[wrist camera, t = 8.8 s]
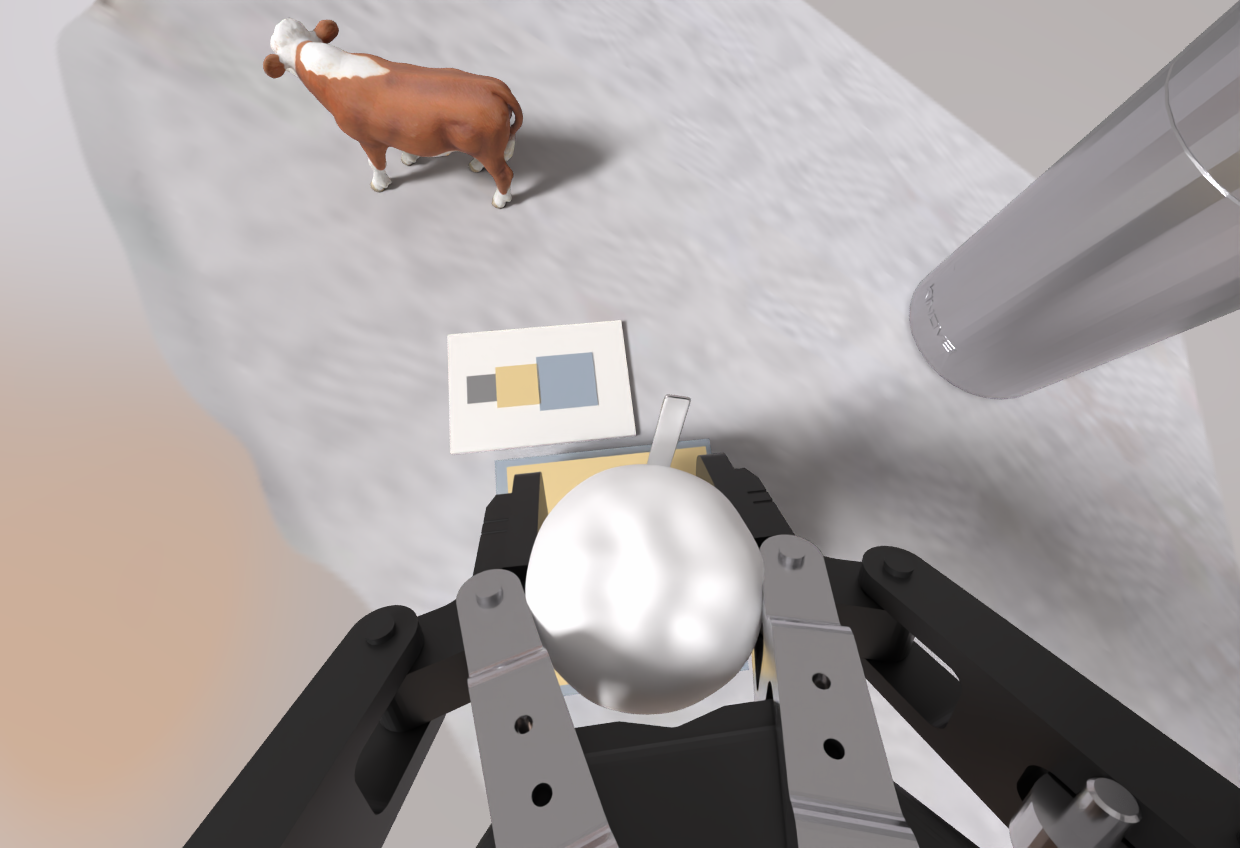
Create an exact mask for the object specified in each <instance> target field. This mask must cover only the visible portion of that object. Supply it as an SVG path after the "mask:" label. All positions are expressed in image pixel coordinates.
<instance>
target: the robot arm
mask: <svg viewBox="0 0 1240 848" xmlns="http://www.w3.org/2000/svg"><path fill="white" fill-rule="evenodd" d="M1239 309H1240V0H1239V1H1238V2H1237V3H1236V4H1235V5H1234V6H1232V7H1231V8H1230V9H1229V10H1228V11H1227V12H1225V13H1224V14H1223V15H1222V16H1221V17H1220V18H1219V19H1218V20H1217V21H1215V22H1214V23H1213V24H1212V25H1211V26H1210V27H1208V28H1207V29H1206V30H1205V31H1204V32H1203V33H1202V34H1201V35H1199V36H1198V37H1197V38H1196V39H1195V40H1194V41H1193V42H1191V43H1190V44H1189V45H1188V46H1187V47H1186V48H1185V49H1184V50H1183V51H1182V52H1181V53H1180V54H1178V55H1177V56H1176V57H1175V58H1174V59H1173V60H1172V61H1170V62H1169V63H1168V64H1167V65H1166V66H1165V67H1164V68H1162V69H1161V70H1160V71H1159V72H1158V73H1157V74H1156V75H1155V76H1153V77H1152V78H1151V79H1150V80H1149V81H1148V82H1147V83H1145V84H1144V85H1143V86H1142V87H1141V88H1140V89H1139V90H1137V91H1136V92H1135V93H1134V94H1133V95H1132V96H1131V97H1130V98H1128V99H1127V100H1126V101H1125V102H1124V103H1123V104H1122V105H1120V106H1119V107H1118V108H1117V109H1116V110H1115V111H1114V112H1112V113H1111V114H1110V115H1109V116H1108V117H1107V118H1106V119H1105V120H1103V121H1102V122H1101V123H1100V124H1099V125H1098V126H1097V127H1095V128H1094V129H1093V130H1092V131H1091V132H1090V133H1089V134H1088V135H1086V137H1084V138H1083V139H1082V140H1081V141H1080V142H1078V143H1077V144H1076V145H1075V146H1074V147H1073V148H1072V149H1071V150H1069V151H1068V152H1067V153H1066V154H1065V155H1064V156H1063V157H1061V158H1060V159H1059V160H1058V161H1057V162H1056V163H1055V164H1053V165H1052V166H1051V167H1050V168H1049V169H1048V170H1047V171H1045V173H1043V174H1042V175H1041V176H1040V177H1039V178H1037V179H1036V180H1035V181H1034V182H1033V183H1032V184H1031V185H1030V186H1028V187H1027V188H1026V189H1025V190H1024V191H1023V192H1022V193H1020V194H1019V195H1018V196H1017V197H1016V198H1015V199H1014V200H1012V201H1011V202H1010V203H1009V204H1008V205H1007V206H1006V207H1005V208H1003V209H1002V210H1001V211H1000V212H999V213H998V214H997V215H995V216H994V217H993V218H992V219H991V220H990V221H989V222H987V223H986V224H985V225H984V226H983V227H982V228H981V229H980V230H978V231H977V232H976V233H975V234H974V235H973V236H971V237H970V238H969V239H968V240H967V241H966V242H964V243H963V244H962V245H961V246H960V247H959V248H958V249H957V250H955V251H954V252H953V253H952V254H951V255H950V256H949V257H948V258H946V259H945V260H944V261H943V262H942V263H941V264H940V265H939V266H937V267H936V268H935V269H934V270H933V271H932V272H931V273H930V274H928V275H927V276H926V277H925V278H924V279H923V280H922V281H921V282H920V283H919V285H918V287H917V288H916V290H915V292H914V293H913V297H912V300H911V304H910V315H909V321H910V326H911V331H912V335H913V337H914V340H915V342H916V344H917V347H918V349H919V351H920V352H921V353H922V355H923V356H924V358H925V359H926V361H927V362H928V363H929V365H930V366H931V367H932V368H933V369H934V370H935V371H936V372H937V373H938V374H939V375H940V376H942V377H943V378H944V379H946V380H947V381H949V382H950V383H951V384H953V385H954V386H956V387H958V388H960V389H962V390H964V391H966V392H968V393H971V394H975V395H978V396H981V397H985V398H994V399H1008V398H1016V397H1020V396H1022V395H1025V394H1028V393H1031V392H1033V391H1036V390H1038V389H1041V388H1043V387H1046V386H1048V385H1051V384H1053V383H1056V382H1058V381H1061V380H1063V379H1066V378H1068V377H1071V376H1073V375H1076V374H1078V373H1081V372H1084V371H1087V370H1089V369H1092V368H1094V367H1097V366H1099V365H1102V364H1104V363H1107V362H1109V361H1112V360H1114V359H1117V358H1119V357H1122V356H1124V355H1127V354H1129V353H1132V352H1134V351H1137V350H1139V349H1142V348H1144V347H1147V346H1149V345H1152V344H1154V343H1157V342H1159V341H1162V340H1164V339H1167V338H1169V337H1172V336H1174V335H1177V334H1179V333H1182V332H1184V331H1187V330H1189V329H1192V328H1194V327H1197V326H1199V325H1202V324H1204V323H1206V322H1209V321H1212V320H1214V319H1216V318H1219V317H1221V316H1224V315H1227V314H1229V313H1231V312H1234V311H1236V310H1239ZM696 476H697V477H699V478H701V479H703V480H705V481H706V482H708V483H710V484H711V485H713V486H714V487H715V488H717V489H718V490H719V491H720V492H721V493H722V494H723V495H724V496H725V497H726V498H727V499H728V500H729V501H730V502H731V503H732V505H733V506H734V507H735V509H736V510H737V512H738V513H739V515H740V516H741V518H742V520H743V521H744V523H745V524H746V526H747V528H748V529H749V531H750V532H751V534H752V536H753V538H754V540H755V541H756V543H757V546H758V548H759V550H760V553H761V556H762V559H763V563H764V581H763V592H762V623H761V628H760V632H759V636H758V639H757V641H756V644H755V646H754V649H753V651H752V667H753V685H754V702H748V703H741V704H734V705H728V706H723V707H721V708H719V709H716V710H714V711H712V712H710V713H708V714H705V715H703V716H701V717H699V718H697V719H694V720H692V721H690V722H688V723H685V724H683V725H681V726H678V727H673V728H671V727H661V726H653V725H645V724H636V723H628V722H620V721H619V722H612V723H605V724H598V725H592V726H585V727H578V728H574V725H573V722H572V719H571V717H570V714H569V711H568V708H567V705H566V702H565V699H564V697H563V694H562V691H561V688H560V685H559V682H558V679H557V677H556V674H555V671H554V668H553V665H552V662H551V659H550V657H549V654H548V652H547V649H546V648H543V646H542V643H541V640H540V637H539V634H538V631H537V628H536V625H535V623H534V620H533V617H532V614H531V611H530V608H529V606H528V604H527V601H526V596H525V588H526V576H527V570H528V564H529V560H530V556H531V552H532V549H533V546H534V543H535V540H536V537H537V535H538V532H539V530H540V528H541V526H542V524H543V522H544V521H545V519H546V518H547V516H548V509H547V503H546V496H545V490H544V483H543V477H542V473H541V472H533V473H523V474H515V475H514V480H513V487H512V493H507V494H497V495H496V496H495V497H494V498H493V500H492V501H491V502H490V503H489V505H488V506H487V507H486V512H485V517H484V524H483V527H482V532H481V533H482V535H481V537H480V542H479V547H478V552H477V557H476V562H475V567H474V572H473V577H471V578H470V579H469V580H467V581H466V582H465V583H464V584H463V585H462V587H461V588H460V590H459V592H458V594H457V598H456V599H455V600H454V601H453V602H451V603H449V604H447V605H446V606H443V607H441V608H439V609H436V610H433V611H431V612H428V613H426V614H423V615H420V616H418V617H417V616H416V614H415V612H414V611H413V610H412V609H410V608H408V607H406V606H401V605H393V606H387V607H383V608H380V609H377V610H375V611H373V612H371V613H369V614H368V615H366V616H364V617H363V618H362V619H360V620H359V621H358V622H357V623H356V624H355V625H354V626H353V627H352V629H351V630H350V631H349V632H348V634H347V635H346V636H345V638H344V639H343V640H342V641H341V643H340V644H339V645H338V647H337V648H336V649H335V651H334V652H333V653H332V654H331V656H330V657H329V658H328V660H327V661H326V662H325V663H324V665H323V666H322V667H321V669H320V670H319V671H318V673H317V674H316V675H315V676H314V678H313V679H312V680H311V682H310V683H309V684H308V686H307V687H306V688H305V689H304V691H303V692H302V693H301V695H300V696H299V697H298V698H297V700H296V701H295V702H294V704H293V705H292V706H291V708H290V709H289V710H288V711H287V713H286V714H285V715H284V717H283V718H282V719H281V721H280V722H279V723H278V725H277V726H276V727H275V728H274V730H273V731H272V732H271V734H270V735H269V736H268V737H267V739H266V740H265V741H264V743H263V744H262V745H261V746H260V748H259V749H258V750H257V752H256V753H255V754H254V756H253V757H252V758H251V760H250V761H249V762H248V763H247V765H246V766H245V767H244V769H243V770H242V771H241V772H240V774H239V775H238V776H237V778H236V779H235V780H234V782H233V783H232V784H231V786H230V787H229V788H228V789H227V791H226V792H225V793H224V795H223V796H222V797H221V798H220V800H219V801H218V802H217V804H216V805H215V806H214V807H213V809H212V810H211V811H210V813H209V814H208V815H207V817H206V818H205V819H204V820H203V822H202V823H201V824H200V826H199V827H198V828H197V829H196V831H195V832H194V834H193V835H192V836H191V837H190V839H189V840H188V841H187V842H186V844H185V845H184V846H183V848H381V847H382V845H383V844H384V841H385V839H386V837H387V835H388V833H389V831H390V829H391V827H392V825H393V823H394V821H395V819H396V817H397V814H398V812H399V811H400V809H401V806H402V804H403V802H404V800H405V798H406V796H407V794H408V792H409V790H410V788H411V786H412V784H413V782H414V780H415V777H416V776H417V773H418V771H419V769H420V767H421V765H422V763H423V761H424V759H425V757H426V755H427V753H428V751H429V749H430V746H431V745H432V742H433V741H434V739H435V736H436V734H437V732H438V730H439V728H440V726H441V724H442V722H443V720H444V718H445V715H446V713H449V712H451V711H453V710H455V709H457V708H459V707H461V706H464V705H466V704H468V703H470V702H471V706H472V712H473V717H474V723H475V729H476V735H477V741H478V746H479V752H480V758H481V764H482V770H483V775H484V781H485V787H486V793H487V799H488V804H489V809H490V816H491V822H492V823H491V825H490V827H489V828H488V829H487V831H486V833H485V834H484V836H483V837H482V839H481V840H480V842H479V843H478V845H477V847H476V848H979V847H978V846H977V845H975V844H974V843H973V842H972V841H970V840H969V839H968V838H966V837H965V836H964V835H963V834H961V833H960V832H959V831H957V830H956V829H955V828H953V827H952V826H951V825H950V824H948V823H947V822H946V821H944V820H943V819H942V818H941V817H939V816H938V815H937V814H935V813H934V812H933V811H931V810H930V809H929V808H928V807H926V806H925V805H924V804H922V803H921V802H920V801H919V800H917V799H916V798H915V797H913V796H912V795H911V794H909V793H908V792H907V791H906V790H904V789H903V788H902V787H900V786H899V785H898V784H897V783H895V782H894V781H893V779H892V776H891V772H890V768H889V765H888V761H887V757H886V753H885V750H884V746H883V742H882V739H881V735H880V731H879V727H878V724H877V720H876V716H875V713H874V709H873V705H872V702H871V698H870V694H869V690H868V687H867V683H866V679H867V680H868V681H869V682H870V683H871V684H872V685H873V686H874V688H875V689H876V690H877V691H878V692H879V693H880V694H881V695H882V696H883V697H884V698H885V699H886V700H887V701H888V702H889V703H890V704H891V705H892V706H893V707H894V709H895V710H896V711H897V712H898V713H899V714H900V715H901V716H902V717H903V718H904V719H905V720H906V721H907V722H908V723H909V724H910V725H911V726H912V727H913V728H914V730H915V731H916V732H917V733H918V734H919V735H920V736H921V737H922V738H923V739H924V740H925V741H926V742H927V743H928V744H929V745H930V746H931V747H932V748H933V750H934V751H935V752H936V753H937V754H938V755H939V756H940V757H941V758H942V759H943V760H944V761H945V762H946V763H947V764H948V765H949V766H950V767H951V768H952V769H953V771H954V772H955V773H956V774H957V775H958V776H959V777H960V778H961V779H962V780H963V781H964V782H965V783H966V784H967V785H968V786H969V787H970V788H971V789H972V791H973V792H974V793H975V794H976V795H977V796H978V797H979V798H980V799H981V800H982V801H983V802H984V803H985V804H986V805H987V806H988V807H989V808H990V809H991V810H992V812H993V813H994V814H995V815H996V816H997V817H998V818H999V819H1000V820H1001V821H1002V822H1003V823H1004V824H1005V825H1006V826H1007V827H1008V828H1009V834H1010V839H1011V843H1012V845H1013V848H1240V788H1238V787H1237V786H1236V785H1234V784H1233V783H1231V782H1230V781H1229V780H1227V779H1226V778H1224V777H1223V776H1222V775H1220V774H1219V773H1217V772H1216V771H1215V770H1213V769H1212V768H1211V767H1209V766H1208V765H1206V764H1205V763H1204V762H1202V761H1201V760H1199V759H1198V758H1197V757H1195V756H1194V755H1193V754H1191V753H1190V752H1188V751H1187V750H1186V749H1184V748H1183V747H1181V746H1180V745H1179V744H1177V743H1176V742H1175V741H1173V740H1172V739H1170V738H1169V737H1168V736H1166V735H1165V734H1163V733H1162V732H1161V731H1159V730H1158V729H1157V728H1155V727H1154V726H1152V725H1151V724H1150V723H1148V722H1147V721H1145V720H1144V719H1143V718H1141V717H1140V716H1139V715H1137V714H1136V713H1134V712H1133V711H1132V710H1130V709H1129V708H1127V707H1126V706H1125V705H1123V704H1122V703H1120V702H1119V701H1118V700H1116V699H1115V698H1114V697H1112V696H1111V695H1109V694H1108V693H1107V692H1105V691H1104V690H1102V689H1101V688H1100V687H1098V686H1097V685H1096V684H1094V683H1093V682H1091V681H1090V680H1089V679H1087V678H1086V677H1084V676H1083V675H1082V674H1080V673H1079V672H1078V671H1076V670H1075V669H1073V668H1072V667H1071V666H1069V665H1068V664H1066V663H1065V662H1064V661H1062V660H1061V659H1060V658H1058V657H1057V656H1055V655H1054V654H1053V653H1051V652H1050V651H1048V650H1047V649H1046V648H1044V647H1043V646H1041V645H1040V644H1039V643H1037V642H1036V641H1035V640H1033V639H1032V638H1030V637H1029V636H1028V635H1026V634H1025V633H1023V632H1022V631H1021V630H1019V629H1018V628H1017V627H1015V626H1014V625H1012V624H1011V623H1010V622H1008V621H1007V620H1005V619H1004V618H1003V617H1001V616H1000V615H999V614H997V613H996V612H994V611H993V610H992V609H990V608H989V607H987V606H986V605H985V604H983V603H982V602H981V601H979V600H978V599H976V598H975V597H974V596H972V595H971V594H969V593H968V592H967V591H965V590H964V589H963V588H961V587H960V586H958V585H957V584H956V583H954V582H953V581H951V580H950V579H949V578H947V577H946V576H944V575H943V574H942V573H940V572H939V571H938V570H936V569H935V568H933V567H932V566H931V565H929V564H928V563H926V562H925V561H924V560H922V559H921V558H919V557H918V556H916V555H915V554H913V553H911V552H909V551H906V550H904V549H900V548H897V547H891V546H878V547H874V548H871V549H869V550H868V551H866V552H865V554H864V555H863V559H862V562H857V561H849V560H841V559H834V558H829V557H825V556H823V555H822V553H821V552H820V550H819V549H818V548H817V547H816V546H815V545H814V544H813V543H811V542H809V541H808V540H806V539H804V538H801V537H798V536H795V535H794V533H793V531H792V530H791V528H790V527H789V525H788V524H787V522H786V520H785V519H784V517H783V516H782V514H781V513H780V511H779V509H778V508H777V506H776V505H775V503H774V502H772V498H771V497H770V495H769V494H768V492H766V489H765V487H764V486H763V484H762V483H761V481H760V480H759V478H758V477H757V476H755V475H754V474H752V473H751V472H750V471H748V470H747V469H745V468H740V469H734V468H733V467H732V465H731V463H730V461H729V460H728V458H727V456H726V455H725V453H715V454H706V455H698V456H697V459H696ZM914 637H916V638H917V639H918V640H920V641H921V642H922V643H923V644H924V645H925V646H926V647H928V648H929V649H930V650H931V651H932V652H933V653H934V654H936V655H937V656H938V657H939V658H940V659H941V660H942V661H944V662H945V663H946V664H947V665H948V666H949V667H950V668H951V669H952V670H953V671H954V672H955V674H956V675H957V677H958V679H959V681H958V680H957V679H956V678H955V677H954V676H953V675H952V674H951V673H949V672H948V671H947V670H946V669H945V668H944V667H943V666H942V665H940V664H939V663H938V662H937V661H936V660H935V659H934V658H933V657H931V656H930V655H929V654H928V653H927V652H926V651H925V650H924V649H922V648H921V647H920V646H919V645H918V644H917V643H916V642H914V641H913V640H914ZM865 678H866V679H865Z"/></svg>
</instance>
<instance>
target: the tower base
mask: <svg viewBox="0 0 1240 848" xmlns="http://www.w3.org/2000/svg"><path fill="white" fill-rule="evenodd" d="M651 446H652V444H651V445H642V446H632V447H622V448H613V449H603V450H594V451H584V452H574V453H565V454H555V455H545V456H536V457H526V458H516V459H507V460H497V461H495V474H496V495H497V494H507V493H512V487H513V480H514V475H515V474H523V473H533V472H541V473H542V477H543V483H544V490H545V496H546V503H547V509H548V515H549V513H550V512H551V511H552V509H553V508H554V507H555V506H556V505H557V503H558V502H559V501H560V500H561V499H562V498H563V497H564V496H565V495H566V494H567V493H568V492H570V491H571V490H572V489H573V488H575V487H576V486H577V485H579V484H580V483H581V482H583V481H584V480H586V479H588V478H589V477H591V476H593V475H595V474H597V473H599V472H602V471H604V470H607V469H610V468H614V467H618V466H624V465H634V464H647V462H648V458H649V454H650V450H651ZM706 454H712V452H711V447H710V441H709V439H700V440H690V441H680V442H678V444H677V447H676V450H675V453H674V456H673V459H672V462H671V465H670V467H671V468H675V469H678V470H681V471H684V472H687V473H690V474H692V475H694V476H696V459H697V456H698V455H706ZM743 670H749V667H748V661H746V663H745V664H744V666H743V667H742V669H741V670H740V671H743ZM554 671H555V674H556V677H557V679H558V682H559V685H560V688H561V691H562V694H563V696H567V695H574V694H580V693H578V692H577V691H576V690H575V689H574V688H573V687H571V686H570V685H569V684H568V683H567V682H566V681H565V680H564V679H563V678H562V677H561V676H560V675H559V674H558V673H557V671H556V670H555V669H554Z"/></svg>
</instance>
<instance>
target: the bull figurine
mask: <svg viewBox="0 0 1240 848" xmlns="http://www.w3.org/2000/svg"><path fill="white" fill-rule="evenodd" d="M338 32H339V29H338V26H337V24H336V23H335V22H334V21H332V20H321V21H320V22H319V23H318V25H317V26H316V28H315V29H314V30H313V31H308V30H307V29H306V28H305V26H304V25H303V24H302V23H301V22H299V21H297V20H294V19H291V18H288V19H283V20H282V21H281V22H280V23H279V24H277V25H276V27H275V30H274V34H273V35H272V37H271V48H272V49H273V51H274V52H275V53H276V54H270V55H268V56H267V57H266V58H265V59H264V62H263V69H264V71H265V73H266V74H267V75H268V76H270V77H271V78H278V77H281V76H282V75H283V74H284V72H285V71H288V72H291V73H292V74H293V75H295V76H296V77H297V78H299V79H300V80H301V81H302V82H303V84H304V85H305V86H306V88H307V89H308V90H309V91H310V92H311V93H312V94H313V95H314V96H315V97H316V98H317V100H318V101H319V102H320V103H321V104H322V105H323V106H324V107H325V108H326V109H327V110H328V111H329V112H330V113H331V114H333V116H334V118H335V120H336V122H337V124H338V126H339V127H340V129H341V130H342V131H343V132H344V133H346V134H347V135H348V136H350V137H351V138H353V139H355V140H357V141H358V142H359V143H360V145H361V146H362V148H363V149H364V151H365V152H366V154H367V155H368V162H369V165H370V166H371V167H372V169H373V170H374V178H373V180H372V182H371V185H370V186H371V188H372V189H373V190H374V191H376V192H382V191H383V190H384V188H388V185H389V184H391V180H390V178H389V177H388V176H387V174H386V173H385V168H386V156H385V154H386V150H387V148H388V147H394V148H397V149H399V150H402V157H401V161H402V163H403V164H405V165H408V166H409V165H411V164H412V163H415V162H416V159H417V158H419V157H420V156H421V157H439V156H444V155H445V156H448V155H450V153H451V152H455V151H459V152H463V153H467V154H469V155H471V156H473V157H474V158H473V160H472V161H471V162H470V163H469V165H468V166H469V168H470V170H471V171H473V172H480V171H481V170H482V168H483V167H485V168H486V170H487V171H488V172H489V173H490V174H491V175H492V176H493V178H494V180H495V182H496V185H497V190H496V193H495V194H494V197H493V200H492V205H493V206H494V207H495V208H503V207H504V206H505V203H506V201H507V202H510V201H511V192H510V185H511V180H512V178H513V171H512V170H511V168H510V167H509V166H508V165H507V163H506V161H508V160H509V159H510V158H511V157H512V155H513V151H514V146H515V133H516V131H517V130H518V129H519V128H520V127H521V125H522V122H523V114H522V110H521V107H520V105H519V103H518V101H517V100H516V98H515V97H514V95H513V94H512V93H511V90H510V89H509V87H508V86H507V85H506V84H505V83H504V82H503V81H501V80H499V79H497V78H493V77H489V76H482V75H476V74H472V73H468V72H464V71H461V70H459V69H454V68H427V67H421V66H416V65H412V64H407V63H396V62H391V61H388V60H385V59H383V58H380V57H378V56H375V55H370V54H365V53H348V52H345V51H343V50H341V49H339V48H337V47H335V46H332V45H330V44H328V43H330V42H331V41H332V40H333V39H334V38H335V37H336V36H337V35H338ZM512 111H513V113H514V114H515V122H514V124H513V125H511V127H510V119H511V116H512Z"/></svg>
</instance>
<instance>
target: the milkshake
mask: <svg viewBox="0 0 1240 848" xmlns="http://www.w3.org/2000/svg"><path fill="white" fill-rule="evenodd" d="M690 402H691V399H690V398H689V397H685V396H678V395H670V394H667V395H666V396H665V397H664V400H663V404H662V407H661V411H660V415H659V419H658V423H657V427H656V431H655V435H654V438H653V442H652V446H651V450H650V454H649V458H648V462H647V464H634V465H624V466H618V467H614V468H610V469H607V470H604V471H602V472H599V473H597V474H595V475H593V476H591V477H589V478H588V479H586V480H584V481H583V482H581V483H580V484H579V485H577V486H576V487H575V488H573V489H572V490H571V491H570V492H568V493H567V494H566V495H565V496H564V497H563V498H562V499H561V500H560V501H559V502H558V503H557V505H556V506H555V507H554V508H553V509H552V511H551V512H550V513H549V515H548V516H547V518H546V519H545V521H544V522H543V524H542V526H541V528H540V530H539V532H538V535H537V537H536V540H535V543H534V546H533V549H532V552H531V556H530V560H529V564H528V570H527V576H526V588H525V596H526V601H527V604H528V606H529V608H530V611H531V614H532V617H533V620H534V623H535V625H536V628H537V631H538V634H539V637H540V640H541V643H542V646H543V648H546V649H547V652H548V654H549V657H550V659H551V662H552V665H553V668H554V669H555V670H556V671H557V673H558V674H559V675H560V676H561V677H562V678H563V679H564V680H565V681H566V682H567V683H568V684H569V685H570V686H571V687H573V688H574V689H575V690H576V691H577V692H578V693H580V694H581V695H582V696H584V697H585V698H586V699H588V700H590V701H591V702H593V703H595V704H597V705H599V706H602V707H605V708H608V709H611V710H615V711H619V712H624V713H631V714H646V715H648V714H662V713H669V712H673V711H677V710H681V709H684V708H686V707H689V706H691V705H693V704H696V703H698V702H700V701H701V700H703V699H705V698H707V697H708V696H710V695H711V694H713V693H714V692H716V691H717V690H719V689H720V688H722V687H723V686H724V685H726V684H727V683H728V682H729V681H730V680H731V679H732V678H733V677H735V676H736V674H737V673H738V672H739V671H740V670H741V669H742V667H743V666H744V664H745V663H746V661H747V660H748V658H749V656H750V655H751V653H752V651H753V649H754V646H755V644H756V641H757V639H758V636H759V632H760V628H761V623H762V592H763V581H764V563H763V559H762V556H761V553H760V550H759V548H758V546H757V543H756V541H755V540H754V538H753V536H752V534H751V532H750V531H749V529H748V528H747V526H746V524H745V523H744V521H743V520H742V518H741V516H740V515H739V513H738V512H737V510H736V509H735V507H734V506H733V505H732V503H731V502H730V501H729V500H728V499H727V498H726V497H725V496H724V495H723V494H722V493H721V492H720V491H719V490H718V489H717V488H715V487H714V486H713V485H711V484H710V483H708V482H706V481H705V480H703V479H701V478H699V477H697V476H694V475H692V474H690V473H687V472H684V471H681V470H678V469H675V468H671V467H670V465H671V462H672V459H673V456H674V453H675V450H676V447H677V444H678V440H679V437H680V434H681V431H682V428H683V425H684V422H685V419H686V415H687V412H688V409H689V406H690Z"/></svg>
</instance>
